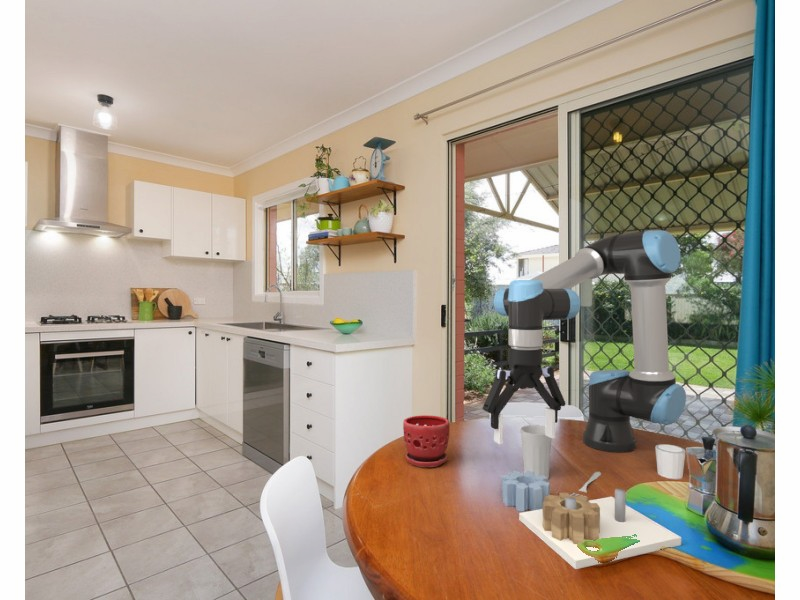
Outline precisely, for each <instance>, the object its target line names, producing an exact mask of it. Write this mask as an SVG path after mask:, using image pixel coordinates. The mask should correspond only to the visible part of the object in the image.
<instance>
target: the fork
mask: <svg viewBox="0 0 800 600" xmlns="http://www.w3.org/2000/svg"><path fill="white" fill-rule="evenodd" d="M601 475H602V472H600V471H595V472H594V473H593V474H592V475H591V476H590V477H589V479H588V480H587V481H586V482H585V483H584V484H583V485H582V487H581V488H580V489H578V491H579V492H583V493H588V491H587V486H588V485H589V484H590V483H592V482H593V481H595V480H597V479H598V478H599V477H600V476H601ZM569 495H570V496H572V497H575V496H576V497H578V496H579V495H581V496H584V497H587V495H583V494H579V493H576V492H573V493H571V494H569Z"/></svg>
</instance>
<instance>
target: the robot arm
mask: <svg viewBox="0 0 800 600" xmlns="http://www.w3.org/2000/svg"><path fill="white" fill-rule="evenodd" d="M680 263H681V250H680V246H679V243H678V241H677V240H676V238H675V237H674V236H673V234H672V233H670V232H669V231H666V230H664V229H663V230H662V229H661V230H660V229H659V230H656V229H655V230H651V229H649V230H644V231H637V232H627V233H619V234H618V233H616V234H613V235H609V236H607V237H603V238H601V239H599V240H596V241H594V242H592V243H590V244H588V245H586V246H583V248H580V249H579V250H577V252H576V253H575V254H574V256H573V257H571V258H569V259H567V260H565V261H563V262H561V263H560V264H557V265H555V266H554V267H551V268H550V269H548V270H546V271H544V272H542V273H541V274H538V275H536V276H534V277H532V278H531V279H515V280H511V281H510V283H509V285H508V286H509V287H508V288H507V287H506V288H501V289H499V290H498V291H497V292H496V293H495V295H494V297H493V306H494V307H493V308H494V310H495V312H496V313H497V314H498V315H499V316H502V317H508V346H510V347H509V348H508V349H507V350H508V352H507V354H508V355H507V358H508V359H507V362H508V369H507V370H503V369H500V368H497V369H496V370H495V377H494V381H493V383H492V384H491V388H490V390H489V392H488V395H487V397H486V399H485V401H484V403H483V406H482V410H483V411H485V412H486V413H489V414H490V427H491V428H493V441H494V443H496V444H498V445H500V446H501V445H503V444H504V414H501V412H502V411H503V410H504V408H505V406H507V404H508V402H509V401H510V400H511V398H512V397H513V396H514V394H515V393H516V392H518V391H519V389H520V390H525V389H535V391H536V392H537V393H538V395H539V396H540V397H541V398H542V400H543V401H544V402H545V403H546V405H547V406H548V407H545V408H544V412H545V413H544V414H545V415H544V417H545V418H544V420H545V421H544V422H545V423H544V424H545V425H544V427H545V435H546V436H548V437H550V438H552V440H553V439H556V423H557V422H558V418H559V417H558V416H559V415H558V411H561V409H562V407H565V406H566V401H565V399H564V396H563V394H562V391H561V389H560V386H559V384H558V382H557V380H556V378H555V371H554V368H553V367H550V366H547V365H544V366H543V367H542V365H543V350H542V349H541V347H542V346H543V342H544V341H543V324H544V323H543V322H544V321H565V320H570V319H573V318H575V317H576V316H577V315H578V314H579V312H580V311H581V298H580V296H579V294H578V293H577V291H575V290H573V288H575V287H576V286H577V285H579V284H581V283H583V282H585V281H587V280H588V279H589V280H594V279H597V278H599V277H600V276H604V275H623V276H624V277H623V279H624V282H625V283H626V284H628V285H629V286H630V297H631V302H630V304H631V320H632V321H631V323H632V340H633V341H632V342H633V363H634V366H633V367H634V368H633V369H632V371H630V370H627V369H602V370H600V369H599V370H595V371H592V372H591V373H590V375H589V377H588V378H589V381H588V418H587V422H586V425H585V430H584V431H583V434H582V442H583V443H584V444H585V445H586V446H588V447H590V448H592V449H596V450H599V451H603V452H604V451H605V452H612V453H628V452H631V451H634V450H636V448H637V439H636V437H635V434H634V430H633V427H632V424H631V417H632V418H635V419H638V420H643V421H648V422H650V423H653V424H660V425H665V426H666V425H667V426H669V425H672V424H674V423H676V422H677V421H678V420H679V418H680V417H681V416H682V414H683V412H684V410H685V407H686V403H687V402H686V401H687V394H686V393H687V392H686V390H685V387H684V386H683V385H681V384H679V383H677V381H676V375H675V373H674V372H672V371H671V370H670V365H669V363H670V362H669V360H670V359H669V343H668V341H669V339H668V314H667V294H666V292H667V291H666V290H667V289H666V285H667V283H668V282H670V280H671V279H672V273H674V272H676V271H677V270H678V269H679V267H680ZM542 376H543V378H544V381H545V383H546V385H547V388H548V389H549V390H547V388H546V387H545V385H544V383H543V382H542V381H541V377H542ZM508 378H509V380H508ZM506 380H508V381H507V383H506ZM505 383H506V384H505ZM504 385H505V387H504Z"/></svg>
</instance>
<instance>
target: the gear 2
mask: <svg viewBox="0 0 800 600" xmlns="http://www.w3.org/2000/svg"><path fill="white" fill-rule="evenodd" d="M558 494H559V495H553V494H551V493H550V494H549V495H547V496H545V502H543V507H542V509H543V528H544V531H551V532H552V537H553V538H555V539H557V540H559V541H561V540H563V539H568V538H569V540H572V542H573V544H578V543H579V542H580V543H584V539H585V540H593V541H596V540H597V539H599V533H600V507H599V506H598V504H597V503H590V502H589V497H587V496H586V497H584V496H585V495H583V496H581V495H582V494H579V495H578V496H575V497H572V496H573V495H572V496H570V495H571V494H570V493H569V492H559V493H558ZM567 497H572V498H575V499H576V509H567V508H565V499H566V498H567Z"/></svg>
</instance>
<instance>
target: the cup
mask: <svg viewBox="0 0 800 600" xmlns="http://www.w3.org/2000/svg"><path fill="white" fill-rule="evenodd" d="M520 437H521V448H522V449H521V450H522V459H523V461H522V462H523V473H525V472H526V471H530V472H534V474H535V476H536V475H537V476H541V475H543V476H545V477H546V478H547V479H549V477H550V465H551V463H550V461H551V453H552V452H551V451H552V440H553V439H552V438H550V437H548V436H546V435H545V425H544V426H543V425H535V424H528V425H524V426H521V427H520Z"/></svg>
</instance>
